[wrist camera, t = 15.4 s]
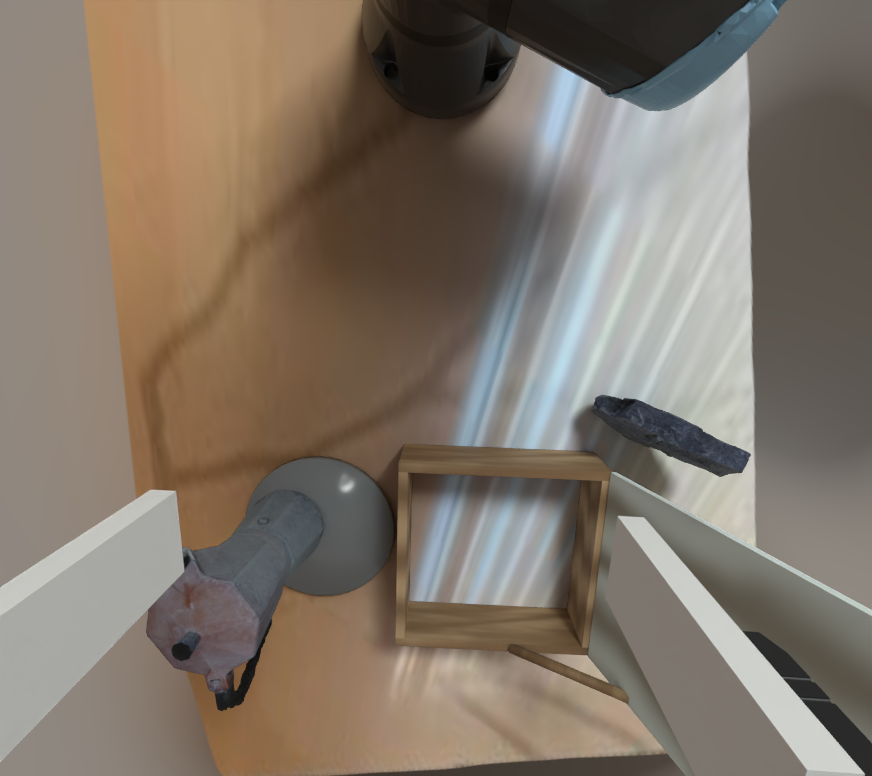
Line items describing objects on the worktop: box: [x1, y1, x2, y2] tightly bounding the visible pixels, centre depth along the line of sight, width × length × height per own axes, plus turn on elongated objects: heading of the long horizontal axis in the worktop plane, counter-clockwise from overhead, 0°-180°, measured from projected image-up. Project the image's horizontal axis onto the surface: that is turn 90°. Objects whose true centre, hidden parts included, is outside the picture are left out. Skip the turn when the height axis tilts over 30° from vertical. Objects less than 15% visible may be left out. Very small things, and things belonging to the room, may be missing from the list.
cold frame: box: [395, 444, 872, 776], centre depth 38 cm, size 22×30×27 cm
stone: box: [592, 395, 751, 477], centre depth 43 cm, size 14×6×10 cm, turn 78°
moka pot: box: [146, 490, 324, 711], centre depth 40 cm, size 10×15×20 cm, turn 15°
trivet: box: [246, 456, 395, 595], centre depth 51 cm, size 18×18×1 cm
